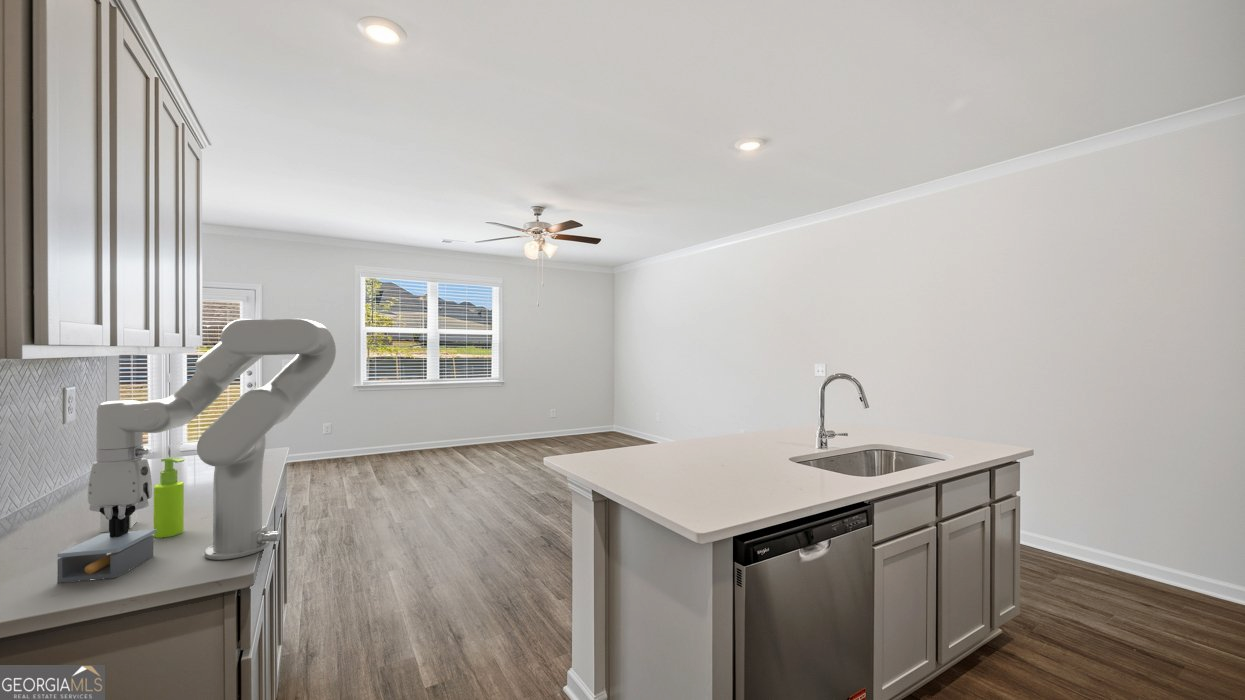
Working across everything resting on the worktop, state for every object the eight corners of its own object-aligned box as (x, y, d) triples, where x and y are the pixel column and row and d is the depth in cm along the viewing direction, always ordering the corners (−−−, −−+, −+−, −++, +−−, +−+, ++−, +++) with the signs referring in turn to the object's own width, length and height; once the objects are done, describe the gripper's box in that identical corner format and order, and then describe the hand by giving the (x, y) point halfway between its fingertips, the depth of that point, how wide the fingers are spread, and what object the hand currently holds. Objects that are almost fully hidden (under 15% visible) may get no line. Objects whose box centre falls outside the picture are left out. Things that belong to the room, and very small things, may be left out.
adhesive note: (136, 522, 143) (137, 501, 143) (131, 528, 138) (131, 506, 138) (107, 526, 140) (107, 504, 140) (100, 532, 135) (100, 510, 135)
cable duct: (153, 556, 120) (153, 534, 120) (114, 578, 108) (114, 554, 108) (102, 559, 118) (102, 538, 118) (57, 583, 106) (57, 559, 106)
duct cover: (156, 532, 120) (156, 529, 120) (118, 552, 108) (118, 548, 108) (102, 536, 118) (102, 533, 118) (57, 557, 106) (57, 553, 106)
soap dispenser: (168, 539, 131) (169, 461, 131) (147, 536, 132) (147, 459, 132) (192, 531, 136) (192, 456, 136) (171, 529, 138) (171, 455, 138)
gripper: (169, 450, 121) (168, 527, 121) (94, 452, 118) (93, 531, 118) (146, 456, 114) (145, 538, 114) (66, 459, 111) (65, 543, 111)
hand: (119, 534), depth 116 cm, fingers closed
